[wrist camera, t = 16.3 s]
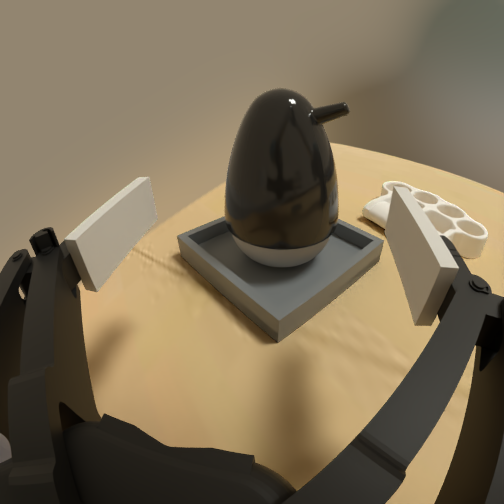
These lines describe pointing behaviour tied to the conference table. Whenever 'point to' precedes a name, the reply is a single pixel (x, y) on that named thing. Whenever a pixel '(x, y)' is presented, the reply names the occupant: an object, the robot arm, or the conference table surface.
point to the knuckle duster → (434, 218)
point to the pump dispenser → (283, 180)
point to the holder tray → (279, 274)
